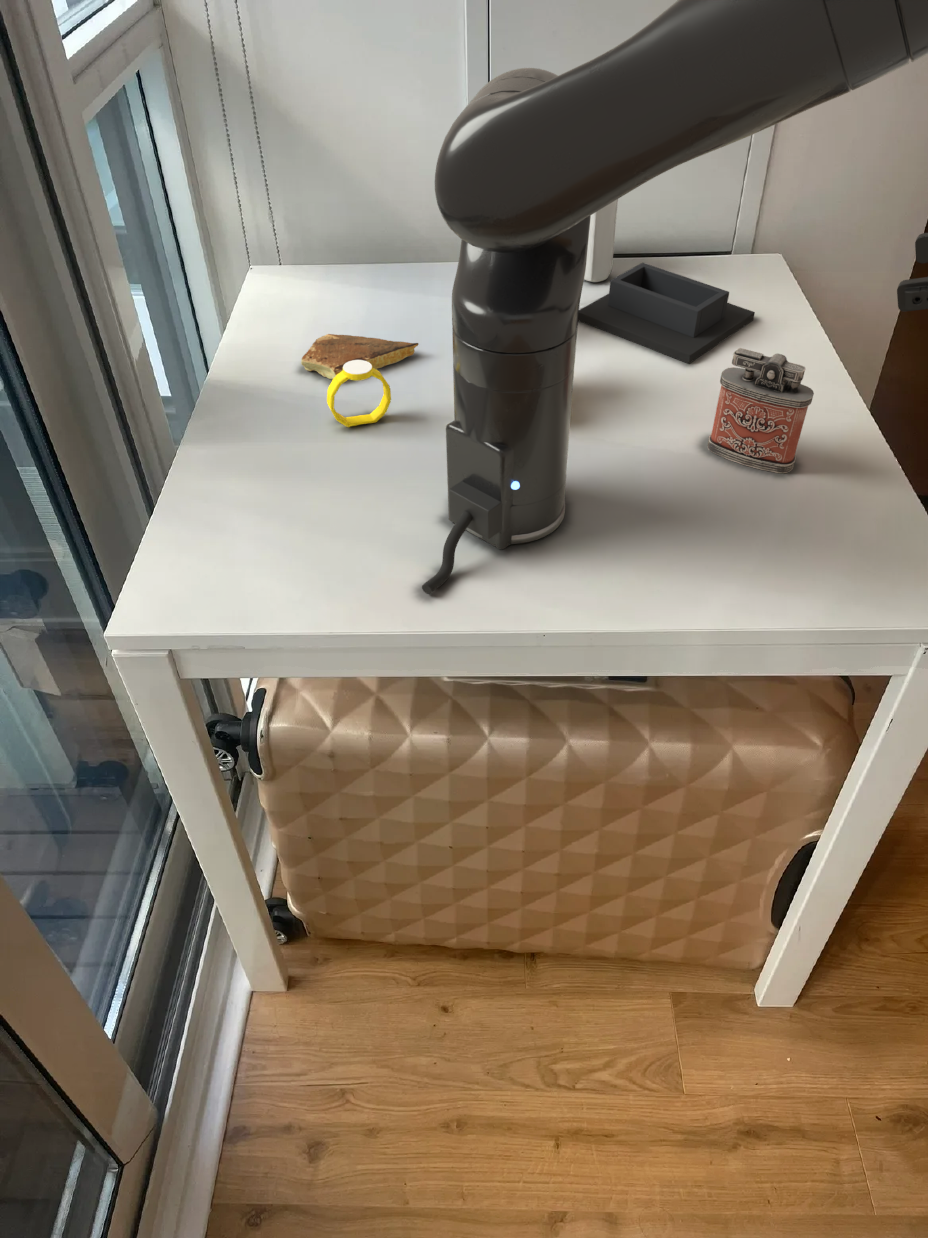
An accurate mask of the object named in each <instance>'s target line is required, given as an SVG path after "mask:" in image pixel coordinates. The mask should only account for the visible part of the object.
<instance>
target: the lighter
mask: <svg viewBox="0 0 928 1238" xmlns="http://www.w3.org/2000/svg"><path fill="white" fill-rule="evenodd" d="M731 365H732V366H734V367H728V368H725V369H723V370H722V372H721V375H720V379H719V384H720V390H719V395H718V399H717V405H716V410H715V416H714V419H713V425H712V429H711V434H709V436H708V440H707V445H706V446H707V450H708V451H709V452H711V453H712V454H714V455H717V456H719V457H721V458H724V459H726V460H728V461H731V462H734V463H737V464H740V465H743V466H746V467H750V468H754V469H757V470H762V471H766V472H770V473H771V472H772V473H776V474H788V473H790V472H791V471H793V470H794V467H795V463H796V460H797V456H796V452H797V449H798V445H799V442H800V438H801V433H802V431H803V427H804V424H805V419H806V416H807V413H808V408H809V406H810V405H811V404H812V402H813V398H814V394H815V393H814V390H813V389H812V387H809V386H807V385H804V384H802V381H803V379H804V375H805V373H806V366H805V365H801V364H798V363H794V362H791V361H788V359H787V356H785V355H784V354H781V353H774V354H773V355H772V356H767V355H764V353H761V352H758V351H755V350H751V349H746V348H744V347H743V348H742V347H739V348H736V350H734V352H733V354H732V360H731Z"/></svg>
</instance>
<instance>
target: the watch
mask: <svg viewBox="0 0 928 1238" xmlns="http://www.w3.org/2000/svg"><path fill="white" fill-rule="evenodd" d="M371 377H374V378H375V379H377V380H380V382H381V383H382V390H383V395H382V397H381V399H380V402H379V405H378V406H376V408H375V409H373V410H372V411H371V413H367V414H360V415H359V414H358V415H352V416H344V415H342V414H340V413H339V412H337V410H336V409H335V397H336V394H337V393H338V391H339V389H340V387H341V386H342V385H343V384H344V383H346V382H347V381H349V380H351V381H365V380H367V379H370V378H371ZM391 400H392V392H391V386H390V385H389V382H387V380H386V379H385V377H384V375H383V374H382V373H381V371H379V370H378V369H374V368H373V367H372V365H371V364H370V363H369V362H367V361H364V360H352V361H349V362H347V363H345V364H344V365H343V371H341V372H340V373H339V374H337V375H336V376H335V377H334V378H333V379H331V382H330V384H329V386H328V387H327V390H326V403H327V406H328V408H329V410H330V412H331V414H332V415H333V417H334V419H335V421H336V422H338V423H340V424H341V425H343V426H344V427H346V428H350V427H356V426H361V425H366V424H367V425H368V424H375V423H377V422H379V420H381V419H382V418H383V417H384V416H385V415H386V414H387V412H388V410H389V408H390V404H391V403H392V401H391Z"/></svg>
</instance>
